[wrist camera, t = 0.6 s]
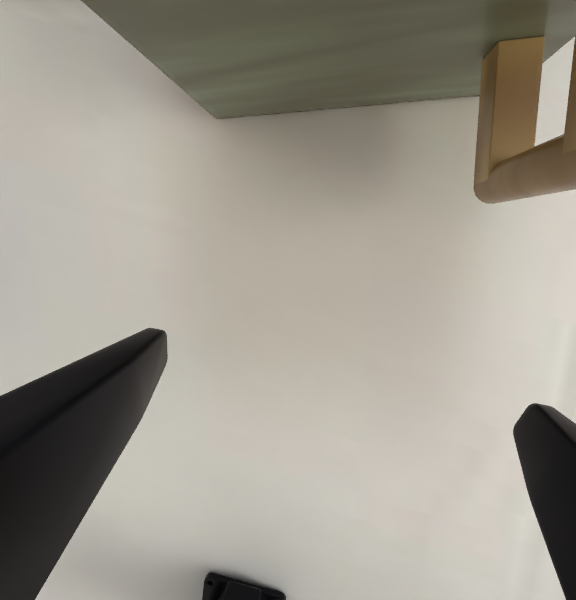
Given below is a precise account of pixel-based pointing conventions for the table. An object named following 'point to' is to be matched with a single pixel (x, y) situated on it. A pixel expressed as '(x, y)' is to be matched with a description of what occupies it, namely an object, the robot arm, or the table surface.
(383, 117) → the table surface
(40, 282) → the table surface
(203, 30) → the door
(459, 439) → the table surface
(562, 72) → the table surface
